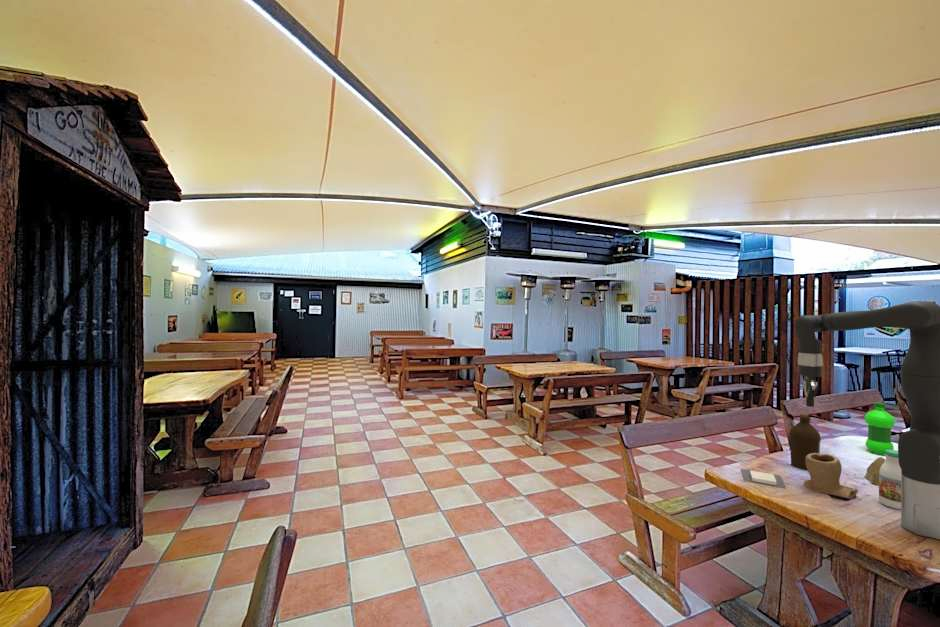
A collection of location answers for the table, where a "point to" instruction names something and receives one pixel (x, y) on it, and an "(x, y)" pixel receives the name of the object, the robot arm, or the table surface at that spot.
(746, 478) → the mat
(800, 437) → the olive oil
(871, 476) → the rock
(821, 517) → the table surface
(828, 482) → the tan hollow piece
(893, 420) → the plastic bottle
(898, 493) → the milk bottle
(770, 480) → the tile
